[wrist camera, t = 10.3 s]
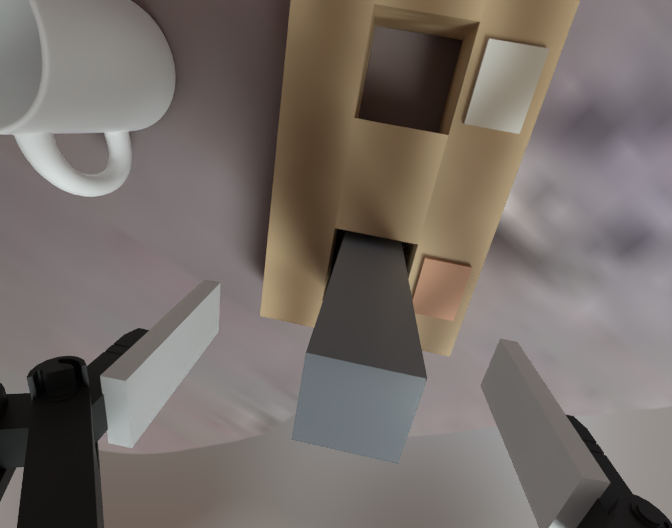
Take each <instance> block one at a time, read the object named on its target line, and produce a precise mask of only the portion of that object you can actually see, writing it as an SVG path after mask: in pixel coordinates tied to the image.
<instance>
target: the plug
mask: <svg viewBox="0 0 672 528" xmlns="http://www.w3.org/2000/svg"><path fill="white" fill-rule="evenodd" d="M426 381H427V376H426V370H425V365H424V360H423V354H422V349H421V344H420V338H419V333H418V328H417V322H416V317H415V312H414V306H413V301H412V296H411V290H410V285H409V280H408V274H407V269H406V264H405V258H404V253H403V248H402V242H401V241H398V240H392V239H387V238H382V237H377V236H372V235H367V234H362V233H357V232H352V231H347V230H346V232H345V235H344V238H343V241H342V244H341V247H340V250H339V253H338V256H337V260H336V263H335V266H334V269H333V272H332V275H331V278H330V281H329V284H328V287H327V290H326V293H325V296H324V299H323V302H322V305H321V308H320V311H319V315H318V318H317V321H316V324H315V327H314V330H313V333H312V336H311V339H310V342H309V345H308V348H307V351H306V356H305V362H304V368H303V374H302V380H301V386H300V392H299V398H298V404H297V410H296V417H295V422H294V429H293V435H292V440H296V441H300V442H305V443H309V444H313V445H318V446H322V447H326V448H331V449H335V450H340V451H344V452H348V453H353V454H358V455H362V456H366V457H370V458H375V459H379V460H383V461H388V462H392V463H396V464H398V462H399V459H400V456H401V453H402V450H403V447H404V444H405V442H406V439H407V436H408V433H409V430H410V427H411V424H412V421H413V418H414V415H415V413H416V410H417V407H418V404H419V401H420V398H421V395H422V392H423V389H424V387H425V384H426Z"/></svg>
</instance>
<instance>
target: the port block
mask: <svg viewBox="0 0 672 528" xmlns="http://www.w3.org/2000/svg"><path fill="white" fill-rule="evenodd" d="M579 2H580V0H291V2H290V12H289V22H288V33H287V43H286V54H285V64H284V74H283V85H282V95H281V105H280V116H279V126H278V137H277V147H276V157H275V168H274V178H273V188H272V199H271V209H270V219H269V230H268V240H267V251H266V261H265V271H264V282H263V292H262V302H261V313H260V316H263V317H267V318H272V319H277V320H281V321H286V322H291V323H295V324H300V325H305V326H309V327H315V324H316V321H317V318H318V315H319V311H320V308H321V305H322V302H323V299H324V296H325V293H326V290H327V287H328V284H329V281H330V274H331V268H332V263H333V257H334V252H335V246H336V241H337V235H338V229H342V230H347V231H352V232H357V233H362V234H367V235H372V236H377V237H382V238H387V239H392V240H398V241H403V242H408V247H407V250H406V254H405V264H406V269H407V274H408V280H409V285H410V290H411V296H412V301H413V306H414V312H415V317H416V322H417V328H418V333H419V338H420V344H421V349H422V351H426V352H431V353H436V354H440V355H445V356H450V354H451V351H452V349H453V346H454V343H455V341H456V338H457V335H458V332H459V330H460V327H461V324H462V321H463V319H464V316H465V313H466V310H467V308H468V305H469V302H470V300H471V297H472V294H473V291H474V289H475V286H476V283H477V280H478V278H479V275H480V272H481V270H482V267H483V264H484V261H485V259H486V256H487V253H488V250H489V248H490V245H491V242H492V240H493V237H494V234H495V231H496V229H497V226H498V223H499V220H500V218H501V215H502V212H503V210H504V207H505V204H506V201H507V199H508V196H509V193H510V190H511V188H512V185H513V182H514V179H515V177H516V174H517V171H518V169H519V166H520V163H521V160H522V158H523V155H524V152H525V149H526V147H527V144H528V141H529V139H530V136H531V133H532V130H533V128H534V125H535V122H536V119H537V117H538V114H539V111H540V109H541V106H542V103H543V100H544V98H545V95H546V92H547V89H548V87H549V84H550V81H551V79H552V76H553V73H554V70H555V68H556V65H557V62H558V59H559V57H560V54H561V51H562V48H563V46H564V43H565V40H566V38H567V35H568V32H569V29H570V27H571V24H572V21H573V18H574V16H575V13H576V10H577V8H578V5H579ZM375 25H376V26H382V27H387V28H393V29H399V30H405V31H411V32H417V33H423V34H429V35H434V36H440V37H446V38H452V39H458V40H462V44H461V48H460V52H459V55H458V59H457V63H456V67H455V70H454V74H453V78H452V82H451V85H450V89H449V93H448V97H447V100H446V104H445V108H444V112H443V115H442V119H441V123H440V127H439V130H438V133H434V132H428V131H423V130H417V129H412V128H406V127H401V126H396V125H390V124H385V123H379V122H374V121H368V120H363V119H358V118H359V112H360V107H361V101H362V96H363V90H364V85H365V79H366V73H367V68H368V62H369V57H370V51H371V46H372V40H373V34H374V29H375Z"/></svg>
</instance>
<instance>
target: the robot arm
mask: <svg viewBox="0 0 672 528" xmlns="http://www.w3.org/2000/svg"><path fill="white" fill-rule="evenodd" d="M219 307H220V283H219V282H214V281H209V280H204V281H202V282H201V283H200V284H199V285H198V286H197V287H196V288H195V289H194V290H193V291H192V292H191V293H189V294H188V295H187V296H186V297H185V298H184V299H183V300H182V301H181V302H180V303H179V304H177V305H176V306H175V307H174V308H173V309H172V310H171V311H170V312H169V313H168V314H167V315H165V316H164V317H163V318H162V319H161V320H160V321H159V322H158V323H157V324H156V325H155V326H154V327H152V328H151V329H150V330H145V329H140V328H138V329H136V330H133V331H131V332H129V333H127V334H125V335H123V336H122V337H121V338H120V339H119V340H118V341H116V342H115V343H114V345H112V346H110V347H109V348H108V349H107V350H106V352H103V353H102V354H101V355H100V356H99V357H97V358H96V359H95V360H94V361H93V362H91V363H90V364H89V365H88V366H86V363H85V361H84V360H83V359H81V358H79V357H75V356H62V357H56V358H53V359H49V360H46V361H44V362H42V363H40V364H38V365H37V366H36V367H34V368H33V369H32V370H31V371H30V372H29V374H28V376H27V381H28V386H29V390H30V393H24V394H6V392H5V388H4V387H3V385H2V384H1V383H0V501H1V499H2V497H3V494H4V492H5V490H6V488H7V486H8V484H9V482H10V480H11V477H12V475H13V473H14V471H15V469H16V467H24V473H23V481H22V489H21V498H20V506H19V515H18V523H17V528H104V520H103V505H102V492H101V478H100V465H99V450H98V442H97V441H98V440H99V439H100V438H101V437H102V435H103V434H104V433H105V432H106V431H107V434H108V442H109V443H110V444H115V445H119V446H124V447H129V448H132V447H133V446H134V444H135V443H136V442H137V440H138V439H139V438H140V436H141V435H142V434H143V432H144V431H145V430H146V428H147V427H148V426H149V424H150V423H151V422H152V420H153V419H154V418H155V416H156V415H157V414H158V412H159V411H160V410H161V408H162V407H163V406H164V404H165V403H166V402H167V400H168V399H169V398H170V396H171V395H172V394H173V392H174V391H175V389H176V388H177V387H178V385H179V384H180V383H181V381H182V380H183V379H184V377H185V376H186V375H187V373H188V372H189V371H190V369H191V368H192V367H193V365H194V364H195V363H196V361H197V360H198V359H199V357H200V356H201V355H202V353H203V352H204V351H205V349H206V348H207V347H208V345H209V344H210V343H211V341H212V340H213V339H214V337H215V336H216V335H217V333H218V331H219ZM481 388H482V390H483V392H484V395H485V397H486V400H487V402H488V405H489V407H490V409H491V412H492V414H493V417H494V419H495V422H496V424H497V426H498V429H499V431H500V433H501V436H502V439H503V441H504V443H505V446H506V448H507V451H508V453H509V456H510V458H511V460H512V463H513V465H514V468H515V470H516V472H517V475H518V477H519V480H520V482H521V485H522V487H523V490H524V492H525V494H526V497H527V499H528V502H529V504H530V507H531V509H532V511H533V514H534V516H535V518H536V521H537V524H538V526H539V528H672V523H671V522H670V521H669V519H668V518H667V517H666V516H665V515H664V514H663V513H662V512H661V511H660V510H659V509H658V508H656V507H655V506H654V505H652V504H651V503H650V502H648V501H647V500H645V499H643V498H641V497H639V496H637V495H634V494H632V492H631V491H630V489H629V488H628V487H627V485H626V484H625V482H624V481H623V479H622V478H621V476H620V475H619V474H618V472H617V471H616V469H615V468H614V467H613V465H612V464H611V462H610V461H609V459H608V458H607V457H606V456H605V455H604V452H603V451H602V449H601V448H600V447H599V445H598V444H596V441H595V439H594V438H593V437H592V435H591V434H590V432H589V431H588V430H587V428H586V427H584V426H583V425H582V424H581V423H580V422H579V421H578V420H577V419H576V418H575V417H574V416H569V415H565V413H564V412H563V410H562V409H561V407H560V406H559V404H558V403H557V401H556V400H555V398H554V397H553V395H552V394H551V392H550V391H549V389H548V388H547V386H546V385H545V383H544V382H543V380H542V379H541V377H540V375H539V374H538V372H537V371H536V369H535V368H534V366H533V365H532V363H531V362H530V360H529V359H528V357H527V356H526V354H525V353H524V351H523V350H522V348H521V347H520V345H519V344H518V342H514V341H509V340H504V339H500V341H499V344H498V346H497V348H496V351H495V353H494V355H493V358H492V360H491V362H490V365H489V367H488V369H487V372H486V374H485V376H484V379H483V381H482V383H481Z"/></svg>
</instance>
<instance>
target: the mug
mask: <svg viewBox="0 0 672 528" xmlns="http://www.w3.org/2000/svg"><path fill="white" fill-rule="evenodd" d="M175 82H176V74H175V65H174V60H173V56H172V53H171V50H170V47H169V45H168V42H167V40H166V38H165V36H164V34H163V33H162V31H161V29H160V28H159V26H158V25H157V24H156V22H155V21H154V20H153V19H152V18H151V17H150V15H149V14H148V13H147V12H145V11H144V10H143V9H142V8H141V7H140V6H138V5H137V4H136V3H134V2H133V1H131V0H0V135H10V134H13V135H14V137H15V139H16V141H17V143H18V145H19V147H20V149H21V151H22V152H23V154H24V155H25V157H26V158H27V160H28V161H29V162H30V164H31V165H32V166H33V167H34V169H35V170H36V171H37V172H38V173H39V174H40V175H41V176H42V177H44V178H45V179H46V180H48V181H49V182H50V183H52V184H53V185H54V186H56V187H58V188H60V189H62V190H64V191H66V192H69V193H72V194H75V195H81V196H86V197H96V196H102V195H105V194H108V193H111V192H113V191H114V190H116V189H118V188H119V187H120V186H121V185H122V184H123V183H124V181H125V180H126V178H127V177H128V175H129V172H130V169H131V164H132V148H131V141H130V136H129V131H137V130H141V129H144V128H147V127H149V126H151V125H153V124H154V123H156V122H157V121H158V120H159V119H160V118H162V117H163V115H164V114H165V113H166V111H167V110H168V108H169V106H170V104H171V101H172V99H173V95H174V91H175ZM61 133H104V135H105V138H106V142H107V146H108V152H109V160H108V164H107V166H106V168H105V169H104V170H103V171H102V172H100V173H98V174H95V175H87V174H83V173H81V172H78V171H77V170H75V169H74V168H73V167H71V166H70V165H69V164H68V163H67V161H66V160H65V159H64V157H63V156H62V154H61V153H60V151H59V149H58V147H57V144H56V141H55V138H54V135H53V134H61Z"/></svg>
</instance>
